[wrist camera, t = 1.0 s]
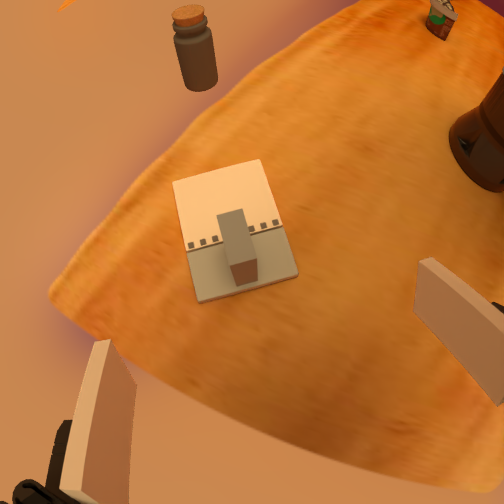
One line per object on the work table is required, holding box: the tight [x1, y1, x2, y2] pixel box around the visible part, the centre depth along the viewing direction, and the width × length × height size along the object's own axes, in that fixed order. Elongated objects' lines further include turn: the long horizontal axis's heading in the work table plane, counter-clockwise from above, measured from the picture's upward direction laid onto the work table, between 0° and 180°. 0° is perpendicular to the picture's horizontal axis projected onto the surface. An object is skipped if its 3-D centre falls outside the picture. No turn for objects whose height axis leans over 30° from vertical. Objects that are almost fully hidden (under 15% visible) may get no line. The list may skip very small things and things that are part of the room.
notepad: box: [172, 159, 283, 253], centre depth 41 cm, size 10×12×2 cm
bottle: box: [172, 5, 218, 92], centre depth 42 cm, size 6×6×15 cm
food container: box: [426, 0, 458, 41], centre depth 52 cm, size 12×6×10 cm, turn 163°
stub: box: [187, 209, 299, 303], centre depth 34 cm, size 6×12×10 cm, turn 106°
